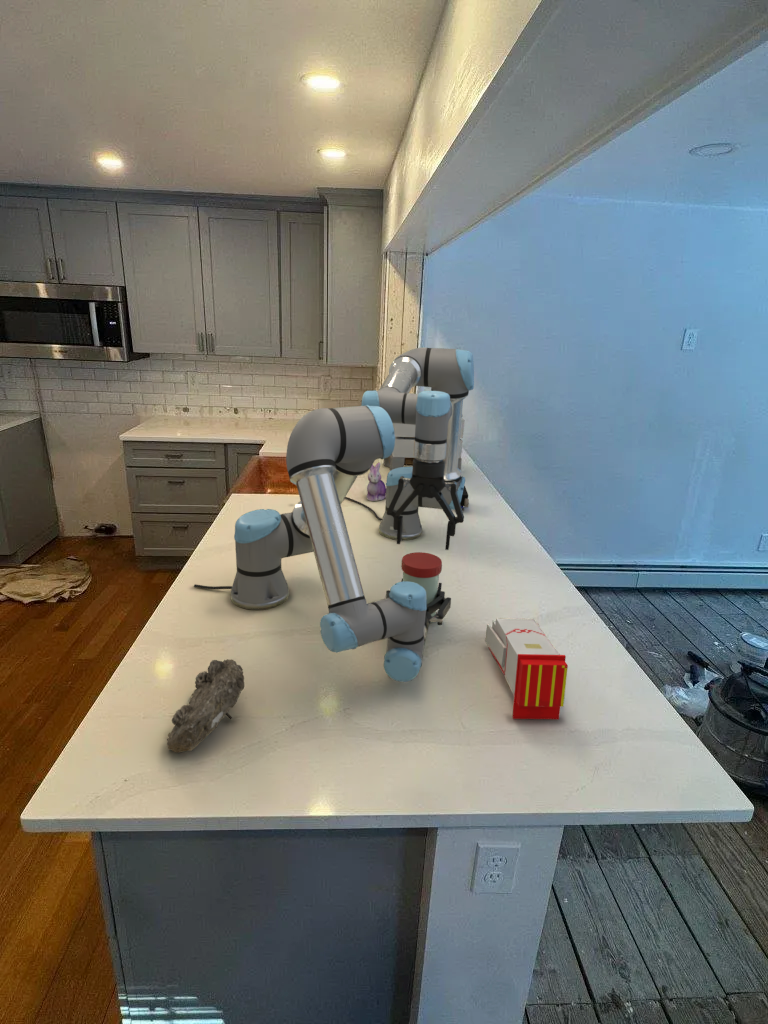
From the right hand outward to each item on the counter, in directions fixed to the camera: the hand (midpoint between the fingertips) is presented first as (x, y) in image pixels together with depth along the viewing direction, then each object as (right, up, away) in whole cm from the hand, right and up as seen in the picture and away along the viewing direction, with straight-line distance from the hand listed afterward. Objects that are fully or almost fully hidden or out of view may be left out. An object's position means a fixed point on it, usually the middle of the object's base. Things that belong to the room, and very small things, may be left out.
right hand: (423, 544), depth 140 cm
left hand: (0, -11, +9) cm, 14 cm away
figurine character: (+20, +10, +90) cm, 93 cm away
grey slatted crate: (+8, +27, +135) cm, 138 cm away
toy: (+20, -28, -16) cm, 38 cm away
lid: (0, -4, +2) cm, 5 cm away
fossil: (-42, -31, -32) cm, 61 cm away
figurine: (-13, +14, +96) cm, 98 cm away
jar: (-1, -19, +7) cm, 20 cm away
